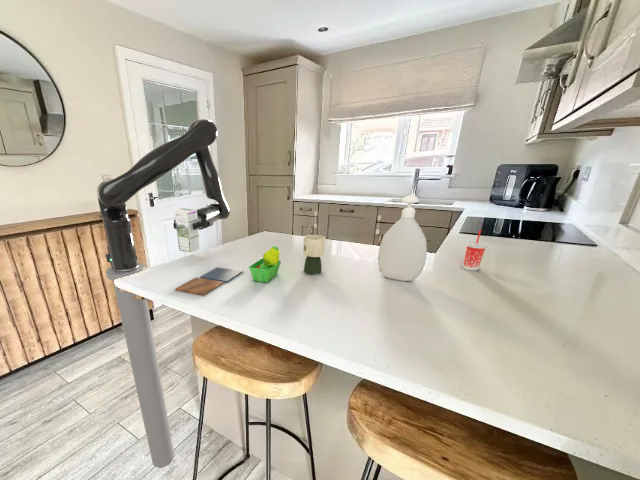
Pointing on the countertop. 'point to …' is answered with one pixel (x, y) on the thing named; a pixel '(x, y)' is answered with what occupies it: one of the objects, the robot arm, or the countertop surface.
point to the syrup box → (187, 229)
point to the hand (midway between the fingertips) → (184, 226)
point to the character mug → (313, 253)
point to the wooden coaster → (199, 286)
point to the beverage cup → (474, 254)
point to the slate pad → (221, 274)
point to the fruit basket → (266, 266)
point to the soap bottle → (403, 247)
